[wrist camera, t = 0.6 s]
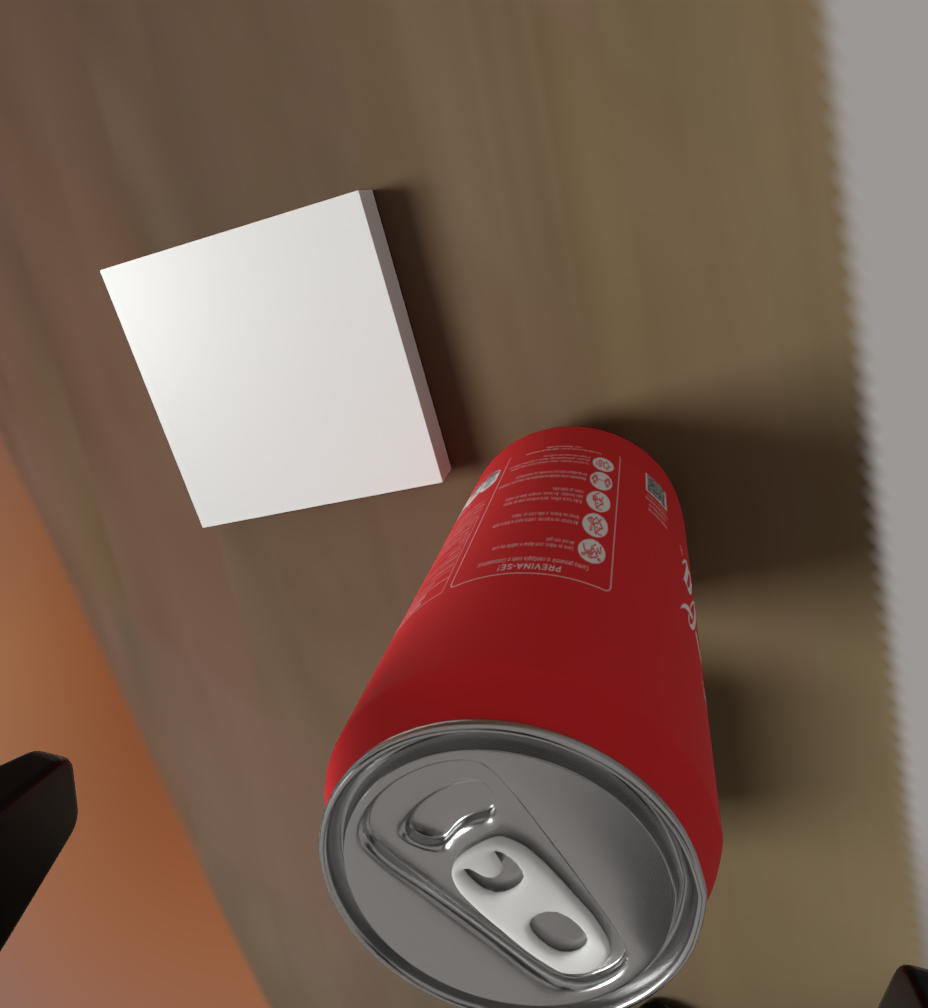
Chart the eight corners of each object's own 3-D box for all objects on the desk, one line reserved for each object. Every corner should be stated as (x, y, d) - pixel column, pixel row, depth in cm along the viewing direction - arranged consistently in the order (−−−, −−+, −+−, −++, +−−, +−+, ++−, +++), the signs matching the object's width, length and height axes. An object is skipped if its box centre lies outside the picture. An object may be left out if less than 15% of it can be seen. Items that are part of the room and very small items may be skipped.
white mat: (451, 469, 21) (442, 481, 20) (220, 513, 23) (202, 527, 22) (371, 189, 19) (358, 190, 18) (123, 266, 20) (99, 270, 20)
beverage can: (587, 370, 19) (512, 624, 8) (724, 524, 20) (825, 945, 9) (437, 498, 21) (221, 837, 10) (567, 634, 22) (493, 1085, 11)
